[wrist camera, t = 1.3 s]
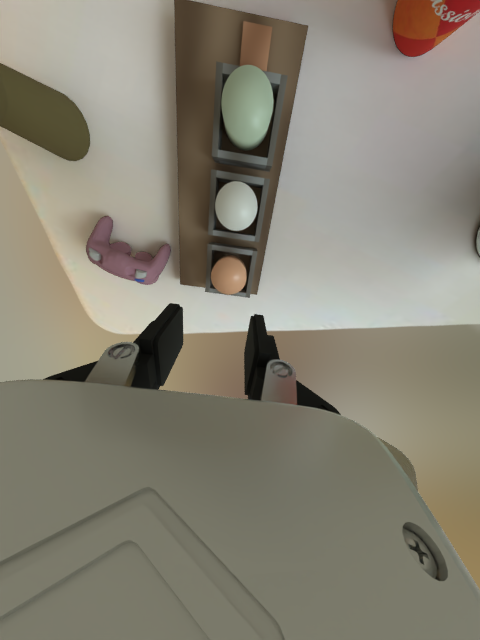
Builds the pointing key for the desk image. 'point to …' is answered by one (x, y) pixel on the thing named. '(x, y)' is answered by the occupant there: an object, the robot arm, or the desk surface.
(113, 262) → the video game controller
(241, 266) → the brown egg
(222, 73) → the board
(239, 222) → the white egg
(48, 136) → the olive green skittle
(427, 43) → the coffee cup
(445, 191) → the desk surface
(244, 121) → the pale green egg
